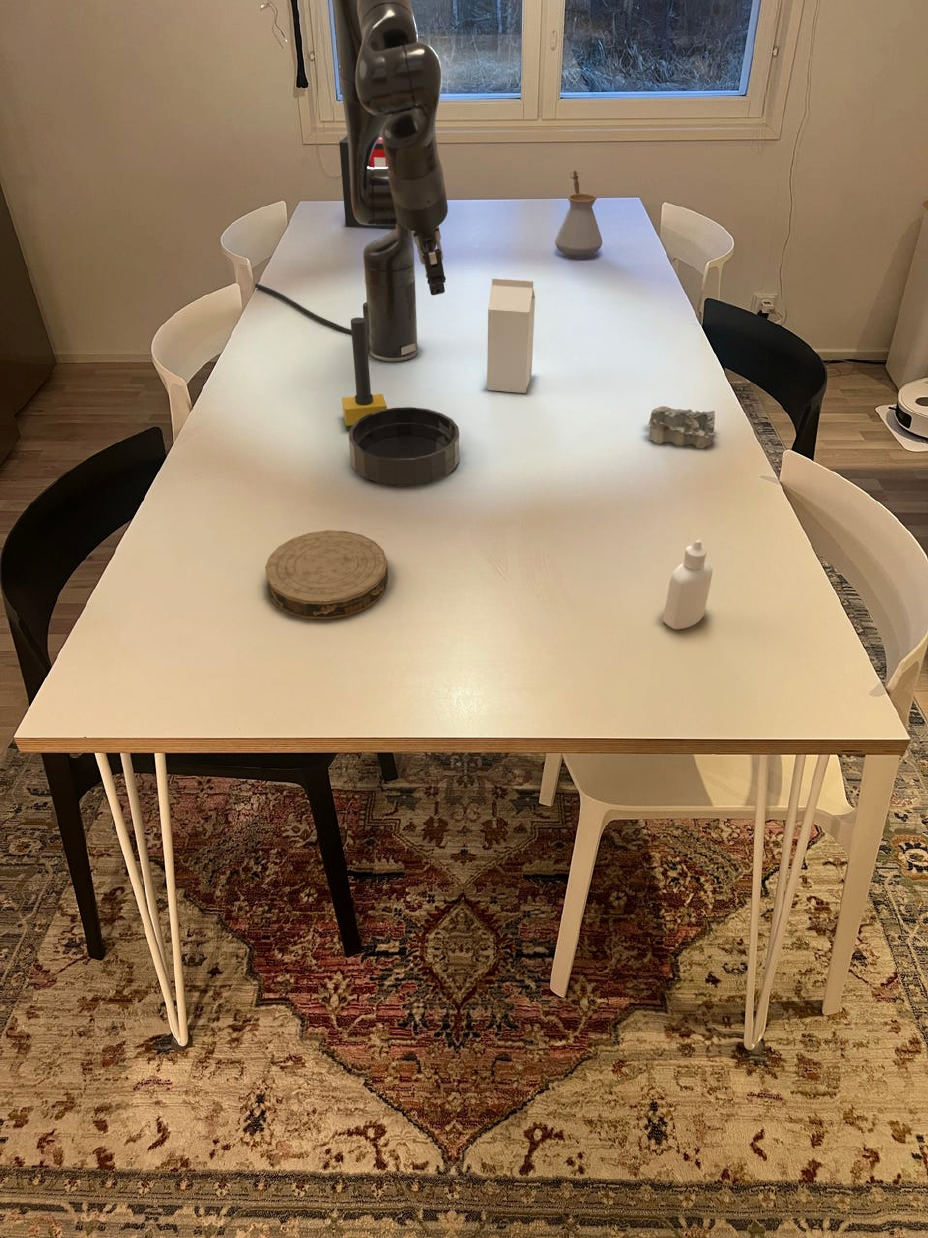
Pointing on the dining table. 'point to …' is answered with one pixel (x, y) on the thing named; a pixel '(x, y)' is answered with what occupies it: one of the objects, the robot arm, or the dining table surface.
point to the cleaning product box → (375, 162)
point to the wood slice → (327, 574)
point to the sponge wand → (361, 379)
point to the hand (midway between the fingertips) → (432, 271)
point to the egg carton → (681, 426)
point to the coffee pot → (579, 227)
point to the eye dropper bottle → (688, 589)
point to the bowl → (404, 446)
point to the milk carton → (510, 335)
